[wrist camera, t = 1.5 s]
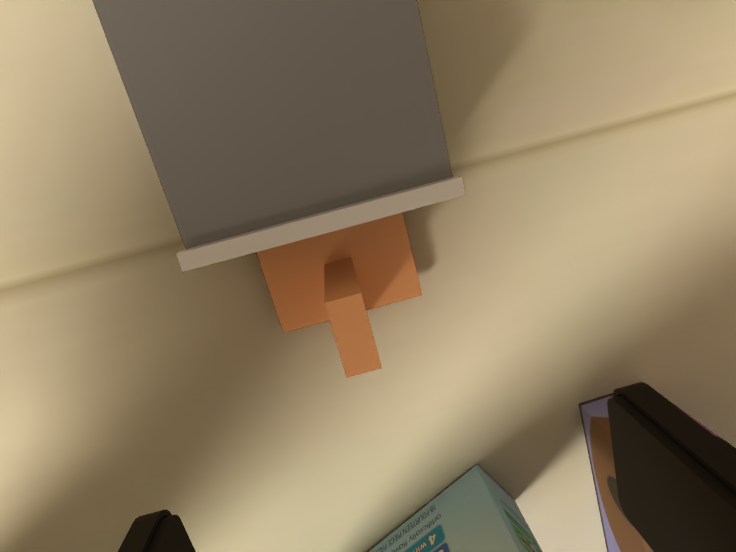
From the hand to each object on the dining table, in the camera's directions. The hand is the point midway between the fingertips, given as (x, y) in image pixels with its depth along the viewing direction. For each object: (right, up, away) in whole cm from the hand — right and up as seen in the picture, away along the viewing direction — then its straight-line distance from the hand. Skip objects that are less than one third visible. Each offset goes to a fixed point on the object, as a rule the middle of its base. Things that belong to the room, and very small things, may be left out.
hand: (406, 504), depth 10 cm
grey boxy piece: (-5, +16, +15) cm, 23 cm away
